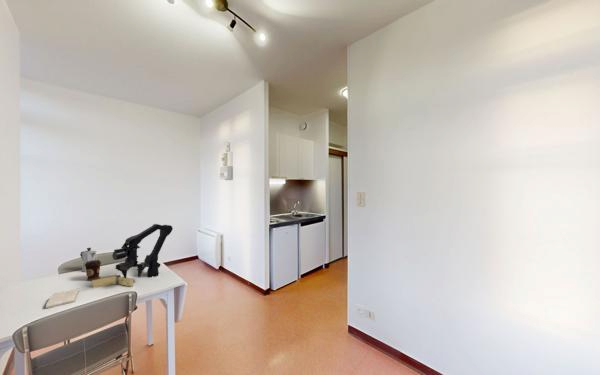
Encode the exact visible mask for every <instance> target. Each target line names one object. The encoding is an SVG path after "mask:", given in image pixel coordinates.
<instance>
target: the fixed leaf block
mask: <svg viewBox="0 0 600 375" xmlns="http://www.w3.org/2000/svg"><path fill="white" fill-rule="evenodd" d="M117 275H118V274H112V275H106V276H99V278H94V280H92V289H93V288H99V287H105V286H111V285H117V284H116V276H117Z"/></svg>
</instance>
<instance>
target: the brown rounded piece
mask: <svg viewBox="0 0 600 375" xmlns="http://www.w3.org/2000/svg"><path fill="white" fill-rule="evenodd" d="M101 264H102V261H100V259H95V260H94V261H88V262H86V264H85V266H86V272H85V274H86V278H87V279H86V280H87V281H93V280H94V278H99V277H100V270H101Z"/></svg>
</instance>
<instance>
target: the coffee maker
mask: <svg viewBox="0 0 600 375" xmlns="http://www.w3.org/2000/svg"><path fill="white" fill-rule="evenodd" d="M86 249H87V250H84V251H81V252H80V258H81V260H82V261H83V263H82V268H81V272H82V273H86V266H85V264H86V262H88V261H94V260H96V257H97V251H96V250H92V247H88V248H86Z"/></svg>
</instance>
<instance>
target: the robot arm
mask: <svg viewBox="0 0 600 375" xmlns="http://www.w3.org/2000/svg"><path fill="white" fill-rule="evenodd" d="M157 230H158V231H159V237H158V238H157V241H156V242H155V245H154V246H153V248H152V250H151V252H150V254H146V256H145V258H144V259H143V262H142V261H141V262H140V263H139V261H138V258H139V255H138V249H141V246H140V245H139V244H140V243H141V242H142V241H143V240H144V239H145V238H147V237H149V236H150V235H151V234H153V233H155V232H157ZM172 232H173V226H172V225H170V224H162V225H161V224H159V223H154V224H152V225H151V226H149V227H148V228H146V229H145V230H143V231H141V232H139V233H137V234H135V235H131V236H130V237H128V238H126V239H125V242H124V243H123V245H122V246H121V248H119V249H118V248H117V249H114V250H113V252H112V260H114V261H118V260H121V259H124V262H120V263H118V264H116V265H115V270H117V271H120V273H121V274H122V275H123V276H122V277H126V278H127V274H128V270H130V268H137V269H136V270H137V278H140V277H141V275H142V273H143V271H144V270H145V269H146V267H147V270H146V272H147V274H146V275H147V278H151V277H152V276H153V277H157V276H159V275H160V272H159V268H160V267H161V263H160V262H158V261H159V255H160V253H161V252H160V251H161V250H162V247H163V245H164V242H165V241H166V239H167V237H168V236H170V234H171V233H172Z"/></svg>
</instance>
